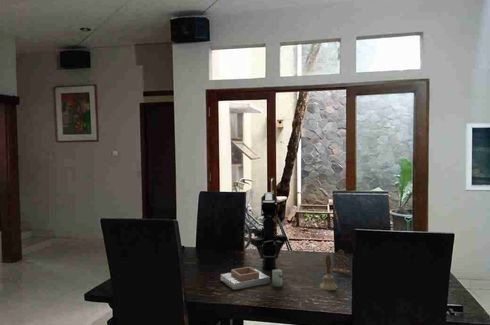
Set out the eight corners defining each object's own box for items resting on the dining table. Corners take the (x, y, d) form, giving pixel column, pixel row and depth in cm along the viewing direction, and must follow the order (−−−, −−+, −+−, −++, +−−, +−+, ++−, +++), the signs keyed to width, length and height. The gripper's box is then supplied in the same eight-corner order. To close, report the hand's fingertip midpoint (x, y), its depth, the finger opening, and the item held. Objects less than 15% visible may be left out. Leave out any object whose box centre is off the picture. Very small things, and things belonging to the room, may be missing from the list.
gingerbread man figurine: (350, 272, 220) (350, 250, 219) (348, 274, 216) (347, 251, 216) (334, 269, 224) (334, 248, 224) (331, 271, 221) (331, 249, 220)
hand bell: (327, 291, 191) (327, 258, 190) (316, 286, 198) (316, 254, 198) (341, 288, 195) (341, 255, 194) (330, 283, 202) (329, 251, 201)
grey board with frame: (254, 274, 218) (254, 264, 218) (269, 283, 204) (269, 272, 203) (220, 280, 209) (220, 269, 209) (233, 289, 195) (233, 278, 194)
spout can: (279, 282, 204) (279, 268, 204) (286, 286, 198) (286, 272, 198) (270, 284, 202) (270, 270, 202) (277, 288, 196) (277, 274, 196)
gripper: (274, 221, 213) (274, 251, 214) (244, 225, 203) (244, 256, 204) (287, 225, 204) (288, 255, 204) (256, 229, 194) (257, 261, 194)
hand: (269, 257), depth 202 cm, fingers open, 9 cm apart
